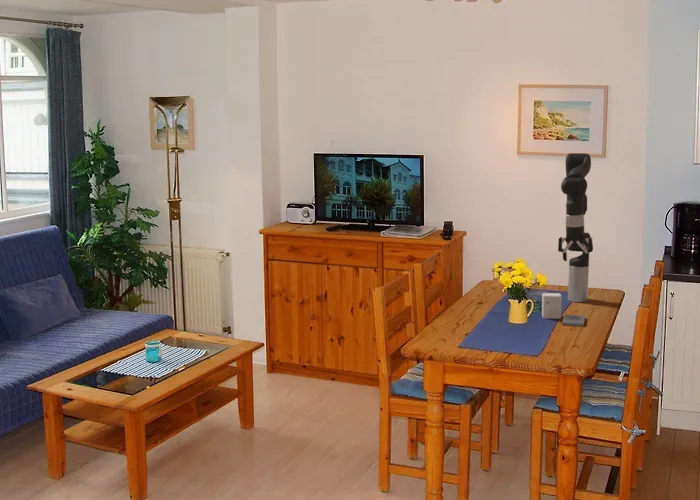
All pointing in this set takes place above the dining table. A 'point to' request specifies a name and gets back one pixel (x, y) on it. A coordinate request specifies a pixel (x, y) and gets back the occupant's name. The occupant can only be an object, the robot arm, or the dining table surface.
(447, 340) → the dining table surface
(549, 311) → the small box
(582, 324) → the slate tile
